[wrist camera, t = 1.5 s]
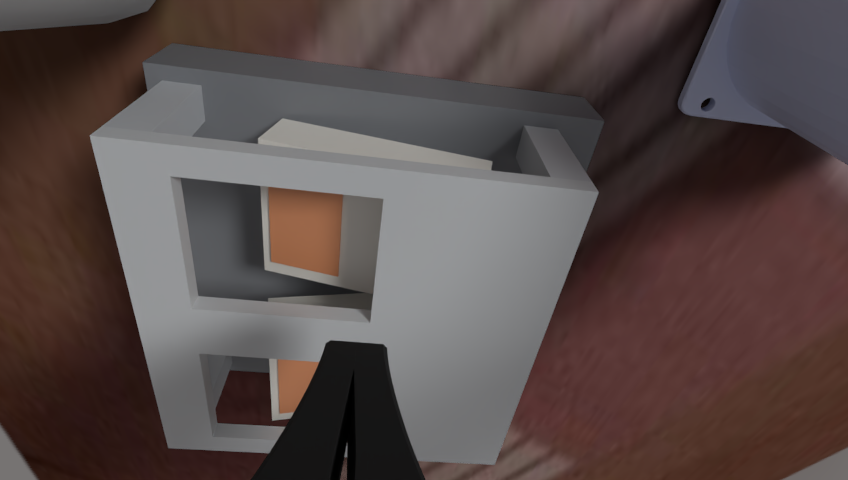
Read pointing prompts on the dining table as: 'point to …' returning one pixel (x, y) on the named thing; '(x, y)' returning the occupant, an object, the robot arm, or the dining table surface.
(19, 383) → the dining table surface
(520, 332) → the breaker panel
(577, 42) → the dining table surface
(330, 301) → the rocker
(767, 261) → the dining table surface
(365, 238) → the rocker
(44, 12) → the salt shaker
